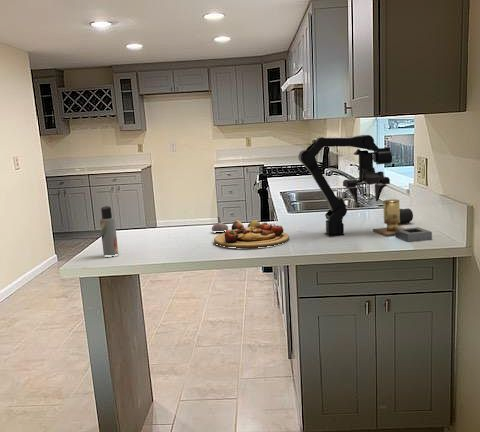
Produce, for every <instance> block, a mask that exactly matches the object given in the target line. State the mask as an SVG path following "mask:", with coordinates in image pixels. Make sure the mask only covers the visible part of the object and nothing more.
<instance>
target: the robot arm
mask: <svg viewBox="0 0 480 432" xmlns="http://www.w3.org/2000/svg"><path fill="white" fill-rule="evenodd" d="M324 147H327V148H328V147H333V148H334V147H350V148H351V147H352V148H356V150H355V152H354V153H353V155H354V156H358V167H357V171H358V176H359V177H357V179H358V180H357V179H353V178H352V179H351V178H350V179H343V181H342V186H343V187H345V189H348V190H349V192H350V194H351V196H352V198H353V200H354V203H355V204H358V201H359V200H358V187H357V186H358V185H370V186H371V185H374V194H375V197H374V198H375V202H379V199H380V196H381V194H382V191H383V189H384V188H386V187H388V185H390V184H391V180H390V179H391V178H389V176H385V173H384V172H383V171H377V172H376V169H375V167H374V163H375V164H376V165H386V164H387V165H388V164H389V165H391V164H392V162H393V155H392V152H391V148H390V147H389V146H388V147H380V148H379V147H378V145H377V144H376V143H375V140H374V137H373V135H370V134H360V135H354V136H351V137H324V136H320V137H317V138H316V139H315V140H314V141H313V142H312V143H311V144H310V145H309V146H308V147H306V149H303V150H300V152H299V154H298V157H297V158H298V161H299V162H300V164H302V165H303V167H305V169H307V171H308V172H309V173H310V175H311V177H313V180H314V182H315V183H316V184H317V186H318V188H319V189H320V191H321V193H322V195H323V196H324V198H325V200H326V202H327V207H328V209H329V210H328V211H327V212H326V213H325V215H324V216H325V218H326V220H325V231H326V232H324V234H325V235H326V236H328V237H337V236H338V237H340V236H344V235H345V233H344V230H345V229H344V228H345V227H344V225H345V224H344V223H343V219H344V217H345V216H346V215H347V213H348V208H347V207H348V205H347V204H346V203H345V202H344V199H343V197H341V196H336V194H335V193H334V192H333V189H332V187H331V186H330V184H329V183H328V181H327V179H326V177H325V176H324V174H323V172H322V171H321V170H320V167H319V165H318V162H317V158H316V157H317V155H318V154H319V153H320V152H321V150H323V148H324ZM362 149H363V150H362ZM369 151H371V152H369Z"/></svg>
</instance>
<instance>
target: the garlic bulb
mask: <svg viewBox="0 0 480 432" xmlns="http://www.w3.org/2000/svg"><path fill="white" fill-rule="evenodd" d="M224 230H229V227H228V225H227V224H226V223H223V222H222V220H221V218H220V215H218V216H217V223H215V224H213V225H212V226H211V231H212V232H213V231H224Z"/></svg>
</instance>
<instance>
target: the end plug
mask: <svg viewBox="0 0 480 432" xmlns="http://www.w3.org/2000/svg"><path fill="white" fill-rule="evenodd" d="M382 204H383V205H382V206H383V207H382V208H383V209H382V210H383V224H386V228H387V231H395V230H397V229H398V225H399V224H398V223H400V209H401V208H400V199H393V198H392V199H391V198H390V199H385V200H382Z"/></svg>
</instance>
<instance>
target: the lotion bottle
mask: <svg viewBox="0 0 480 432" xmlns="http://www.w3.org/2000/svg"><path fill="white" fill-rule="evenodd" d="M100 211H101V218H100V219H99V224H100V225H99V226H100V232H101V233H100V234H101V242H102V250H103V251H102V252H103V256H104V255H115V254H118V255H119V247H118V238H117V229H116V220H115V217H113V215H112V207H111V206H109V205H107V206H103V207H101V208H100Z"/></svg>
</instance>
